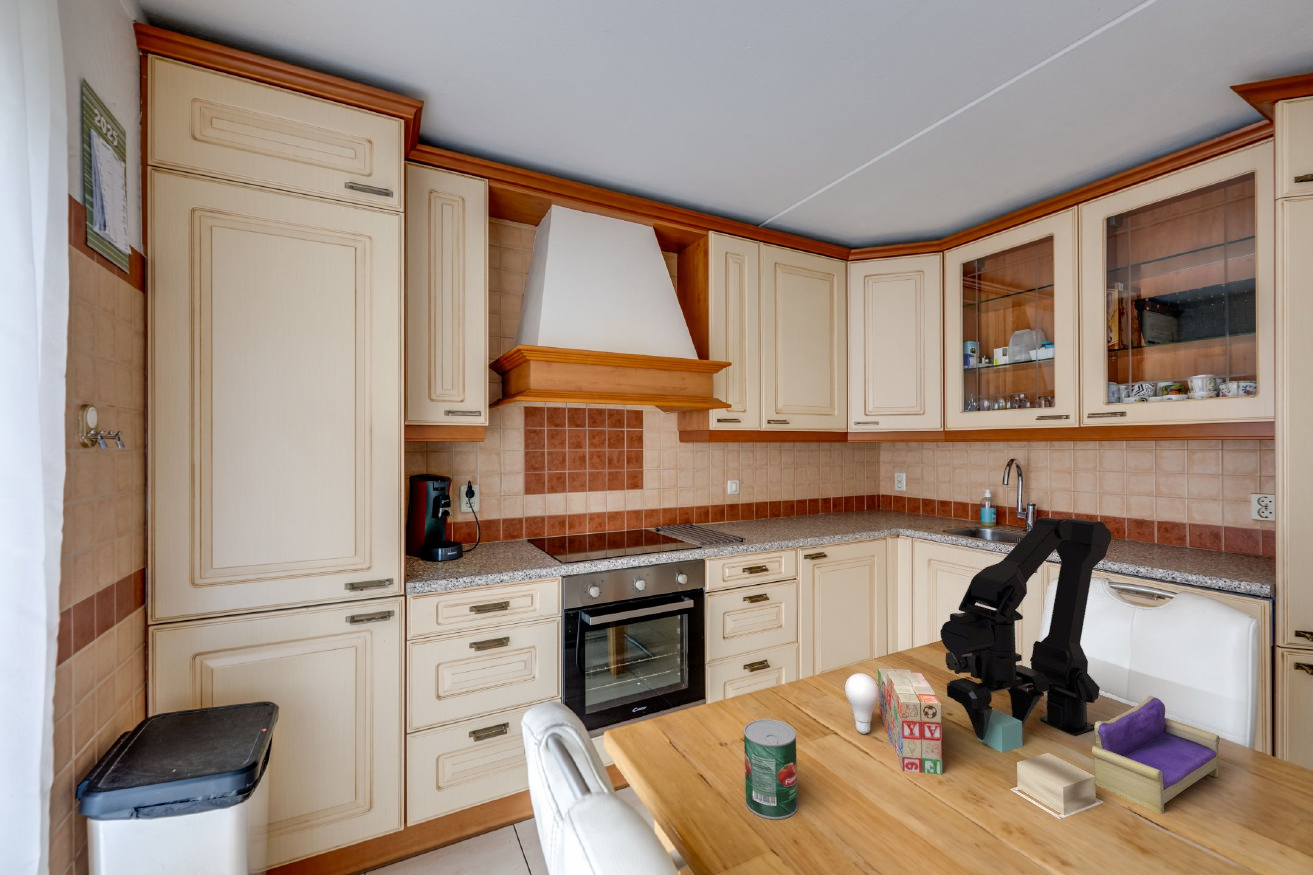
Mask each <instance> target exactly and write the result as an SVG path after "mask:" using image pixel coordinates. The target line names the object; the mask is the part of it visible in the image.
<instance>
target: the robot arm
mask: <svg viewBox="0 0 1313 875" xmlns="http://www.w3.org/2000/svg"><path fill="white" fill-rule="evenodd" d="M1110 530H1111V529H1109V528H1107V525H1106V524H1105V523H1104V522H1102V521H1099V520H1089V519H1080V518H1073V517H1072V518H1071V517H1064V518H1057V517H1049V516H1048V517H1047V516H1042V517H1038V518H1036V519H1035V521H1034V523H1033V527H1032V528H1031V529H1030V530H1029V531H1028V532H1027V533H1026V534H1025V536H1024V537H1023V538H1021V540H1020V541H1019V542H1018V543H1017V544H1016V545H1015V546H1014V547H1013V549H1012V550H1011V551H1009V553H1008V554H1007V555H1006V556H1005V557H1004V558H1003V559H1002V560H1001V561H1000V562H998V563H994V564H992V565H988V566H985V567H984V568H983V569H981V570H980V571H979V572H978V573H976V574H975V575H974V576H973V577H972V579H971V581H970V582H969V585H968V587H967V590H966V591H965V593H964V596H963V597H962V600H961V601H960V604H959V606H958V607H957V608H958V611H960V612H959V613H958V612H957V613H956V612H953V613H950V614H949V620H947V621H945V622H944V623H943V624H942V627H941V629H940V639H941V642H942V644H943V646H944V647H945V649H946V650H947V651H948V652H946V653H945V664H946V667H947V669H948V670H949V671H953V672H954V674H955V675H960V674H969V675H970V677H971V678H973V679H976V680H977V679H979V680H980V682H979V683H977V682H975V681H973V680H972V679H971V680H970V679H969V678H966V677H962V678H957V679H953V680H949V682H948V683H946V696H947V697H948V698H951V699H952V700H953V701H955V702H957V703H958V704H961V705H962V707H963V708H964V709H965V712H966V713H967V715H968V718H969V721H970V724H971V725H972V728H973V730H974V733H975V736H976V739H977V738H979V739H980V740H984V739H985V736H986V733H987V729H988V725H989V720H990V717H991V713H992V710H993V706H991V705H990V704H991V703H992V700H993V699H992V694H995V693H999V692H1003V691H1007V693H1008V694H1009V696H1010V697H1009V698H1010V707H1011V717H1013V718H1016V719H1018V720H1020V721H1022V728H1023V726H1024V725H1025V723H1026V722H1027V720H1028V718H1029V716H1030V714H1031V713H1032V711H1033V710H1034V708H1035V707H1036V705H1037V704H1038V702H1039V700H1040V699H1041V698H1042V697H1044V696H1045V692H1046V715H1044V716H1040V717H1039V721H1041V722H1043V723H1045V724H1047V725H1049V726H1051V727H1054V728H1056V729H1058V730H1060V731H1062V732H1065V733H1067V734H1069V735H1072V736H1077V735H1080V734H1083V733H1087V732H1090V731H1095V724H1093V723H1090V722H1088V717H1087V716H1088V714H1087V713H1088V712H1087V710H1088V708H1087V703H1089V704H1090V703H1091V704H1095V703H1096V700H1098V699H1099V695H1100V690H1101V689H1100V686H1099V685H1098V683H1096V681H1095V680H1094V679H1093V678H1092V677H1091V676H1090V674H1089V673H1088V672H1089V670H1088V669H1089V660H1088V658H1087V656H1086V654H1085V652H1084V648H1082V645H1081V640H1082V635H1083V630H1084V629H1083V628H1084V621H1085V618H1086V616H1085V615H1086V611H1087V606H1088V605H1087V604H1088V600H1089V592H1090V587H1091V579H1092V576H1093V575H1092V574H1093V570H1094V568H1095V567H1096V566H1097V565H1098V564H1099V563H1100V562H1101V561H1102V560H1103V559H1105V557H1106V556H1107V553H1108V549H1109V545H1110V544H1111V542H1112V532H1111V531H1110ZM1054 551H1056V553H1057V555H1058V557H1059V559H1060V567H1059V572H1058V578H1057V579H1058V580H1057V584H1056V590H1055V596H1054V601H1053V606H1052V612H1051V617H1050V623H1049V624H1050V625H1049V630H1048V634H1047V635H1046V637H1044V638H1043V639H1042V640H1041V641H1039V640H1036V641H1035V642H1034V643H1033V644H1032V653H1031V657H1030V659H1029V662H1030V667H1027V666H1025V665H1023V664H1019V665H1017V663H1018V662H1022V661H1023V656H1022V654H1020V653H1017V650H1016V649H1017V648H1016V646H1017V645H1016V623H1015V622H1016V621H1020V620H1023V619H1024V616H1023V615H1022V614H1021V613H1020V612H1018V611H1017V609H1018V608H1019V607H1020V605H1021V604H1022V602H1023V600H1024V599H1025V597H1026V596H1027V594H1028V588H1027V583H1028V581H1029V579H1031V577H1032V576H1033V575H1034V573H1036V571H1038V569H1039V568H1040V567H1041V566H1042V565H1043V563H1045V561H1046V560H1047V559H1048V558H1049V557H1050V555H1051V554H1052V553H1053V552H1054ZM984 606H985V607H984ZM987 607H988V608H987Z"/></svg>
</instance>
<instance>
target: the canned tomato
mask: <svg viewBox="0 0 1313 875" xmlns="http://www.w3.org/2000/svg"><path fill="white" fill-rule="evenodd" d="M743 738H744V740H743V742H744V746H743V747H744V750H743V751H744V781H745V782H744V786H745V787H744V788H745V804H746V807H747V808H748V810H749V811H750V812H751V813H753V814H754V815H756V816H757V817H760V818H763V819H767V820H776V821H777V820H784V819H788V818H790V817H792V816H793V815H795V813H797V811H798V808H799V802H798V774H797V773H798V770H797V768H798V767H797V766H798V765H797V732H796V730H795V728H794V727H793V726H792V725H791V724H788V723H787V722H785V721H782V720H777V719H769V718H761V719H756V720H753V721H749V722H748V723H747V724H745V726H744V727H743Z"/></svg>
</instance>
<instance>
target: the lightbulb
mask: <svg viewBox="0 0 1313 875" xmlns="http://www.w3.org/2000/svg"><path fill="white" fill-rule="evenodd" d="M844 691H845V696H846V698H847V699H848V702H849V703H850V706H851V708H852V711H853V718H854V719H855V728H856V730H857V731H858V732H860V734H863V735H865V734H867V733H869V732H871V722H872V719H873V711H874V709H875V706H876V705H877V703H878V701H879V700H880V699H879V695H880V692H879V684H878V682H876V680H875V679H874V678H873V677H871V676H870V675H869V674H866V673H863V672H857V673H854V674H852V675H850V676H849V677H848V678H847V680H846V682H845V685H844Z"/></svg>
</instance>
